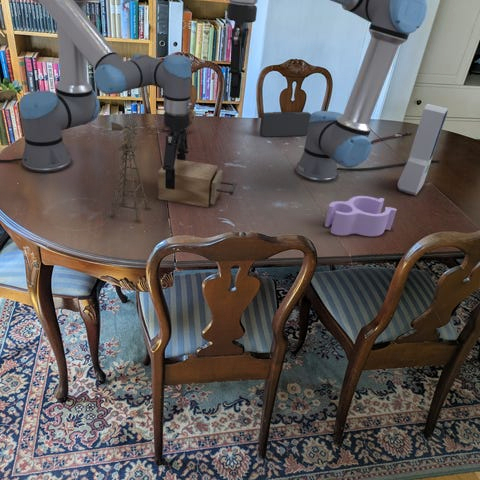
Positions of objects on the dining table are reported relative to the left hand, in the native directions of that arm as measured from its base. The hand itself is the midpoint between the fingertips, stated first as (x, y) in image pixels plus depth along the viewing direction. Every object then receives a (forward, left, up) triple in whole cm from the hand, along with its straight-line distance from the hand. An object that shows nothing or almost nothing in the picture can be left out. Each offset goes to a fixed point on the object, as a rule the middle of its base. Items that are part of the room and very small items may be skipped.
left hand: (175, 180), depth 148 cm
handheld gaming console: (+32, +67, -5) cm, 75 cm away
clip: (+58, -5, -5) cm, 58 cm away
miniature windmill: (-10, -16, -5) cm, 19 cm away
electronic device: (+80, +29, -5) cm, 85 cm away
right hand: (+17, -1, +29) cm, 33 cm away
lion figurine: (-12, +55, -5) cm, 57 cm away
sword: (+81, +81, -5) cm, 115 cm away
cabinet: (+4, 0, -5) cm, 6 cm away
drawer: (+9, 0, -4) cm, 10 cm away
